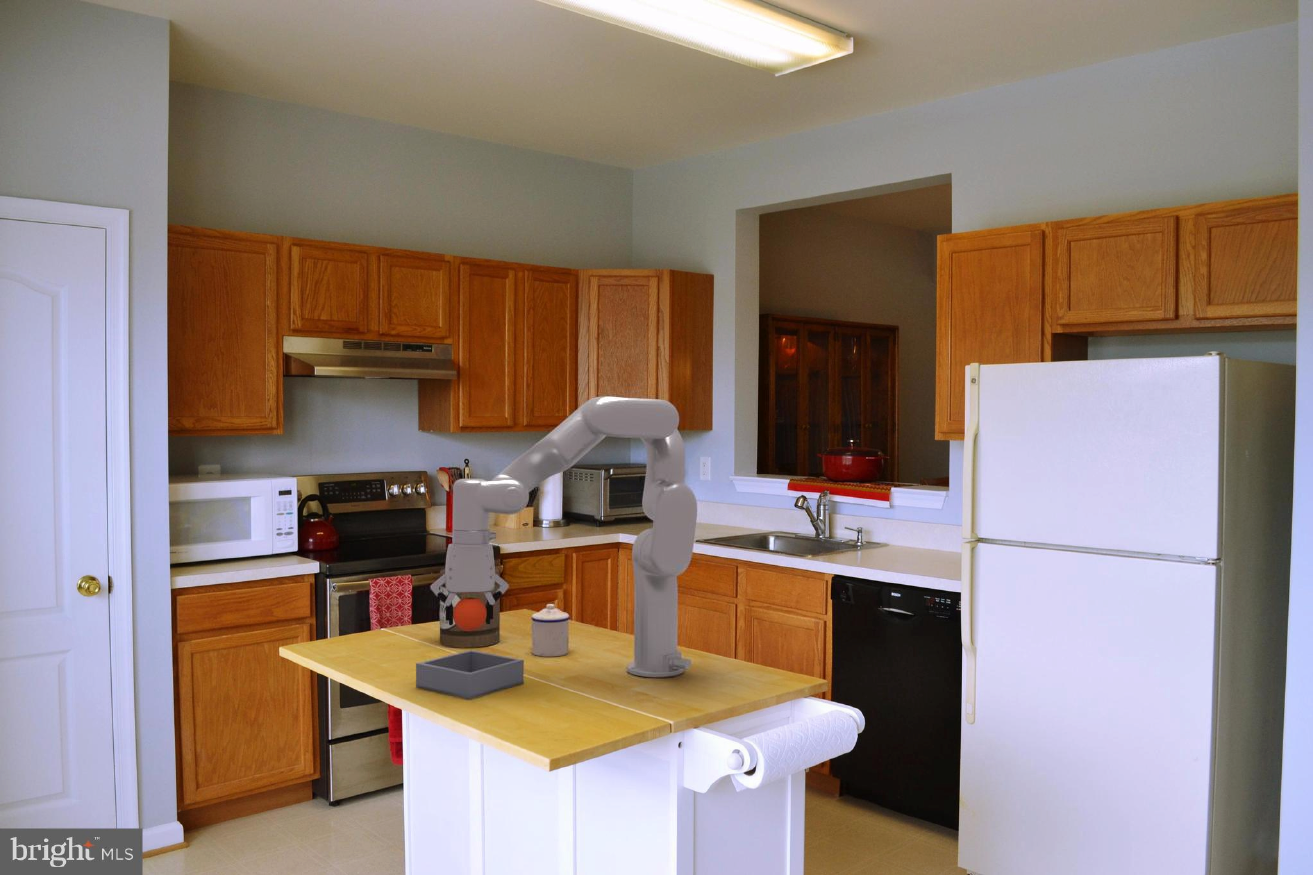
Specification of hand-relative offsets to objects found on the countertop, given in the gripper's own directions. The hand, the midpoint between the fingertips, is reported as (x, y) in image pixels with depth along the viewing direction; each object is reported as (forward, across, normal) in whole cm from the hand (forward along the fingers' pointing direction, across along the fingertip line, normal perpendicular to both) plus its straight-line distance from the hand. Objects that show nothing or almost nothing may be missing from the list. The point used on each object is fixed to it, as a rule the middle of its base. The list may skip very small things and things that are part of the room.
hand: (469, 622), depth 208 cm
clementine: (+2, 0, +1) cm, 2 cm away
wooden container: (+13, -4, -43) cm, 45 cm away
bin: (+13, 0, 0) cm, 13 cm away
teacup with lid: (+13, -21, -27) cm, 37 cm away
